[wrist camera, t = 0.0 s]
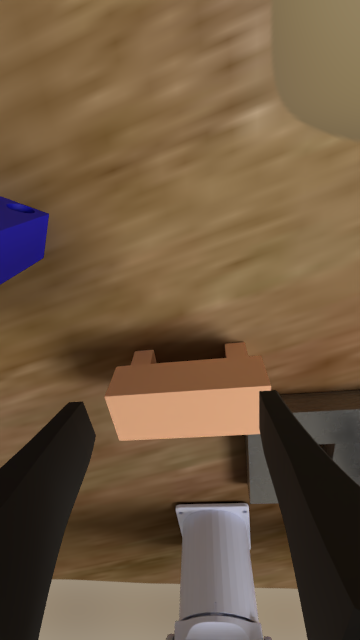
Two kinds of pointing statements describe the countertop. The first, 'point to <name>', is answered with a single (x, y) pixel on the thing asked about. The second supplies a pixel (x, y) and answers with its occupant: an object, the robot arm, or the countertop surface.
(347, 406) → the rail plate
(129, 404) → the tall peach brick
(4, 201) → the cable clip
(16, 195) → the countertop surface
